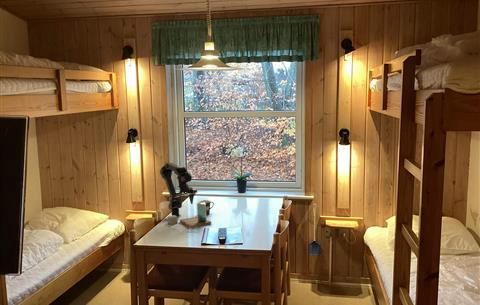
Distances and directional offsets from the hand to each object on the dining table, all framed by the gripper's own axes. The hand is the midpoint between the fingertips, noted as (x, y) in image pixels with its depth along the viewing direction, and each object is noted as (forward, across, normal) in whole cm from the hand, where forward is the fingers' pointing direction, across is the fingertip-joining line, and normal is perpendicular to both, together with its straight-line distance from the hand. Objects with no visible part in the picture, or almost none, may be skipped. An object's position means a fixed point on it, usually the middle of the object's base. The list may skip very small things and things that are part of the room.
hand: (186, 205), depth 321 cm
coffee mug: (+10, -1, -24) cm, 26 cm away
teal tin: (+13, -10, 0) cm, 17 cm away
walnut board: (+14, -4, 0) cm, 14 cm away
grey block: (+11, +11, +5) cm, 16 cm away
